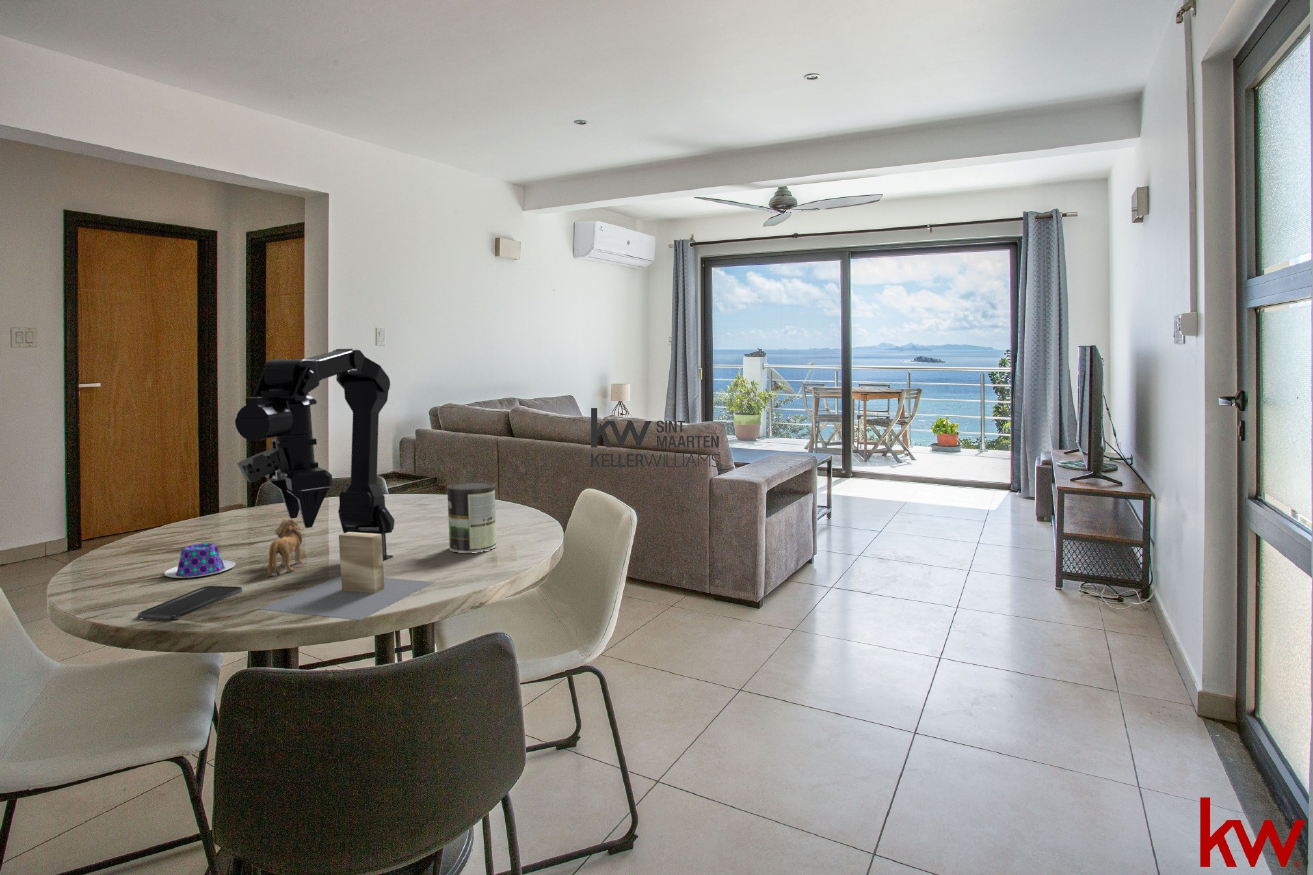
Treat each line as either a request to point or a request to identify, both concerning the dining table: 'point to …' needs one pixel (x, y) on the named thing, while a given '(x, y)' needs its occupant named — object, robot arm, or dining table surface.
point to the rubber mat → (346, 599)
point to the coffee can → (471, 516)
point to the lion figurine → (285, 546)
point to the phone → (189, 602)
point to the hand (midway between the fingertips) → (300, 522)
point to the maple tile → (361, 562)
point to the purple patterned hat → (199, 562)
